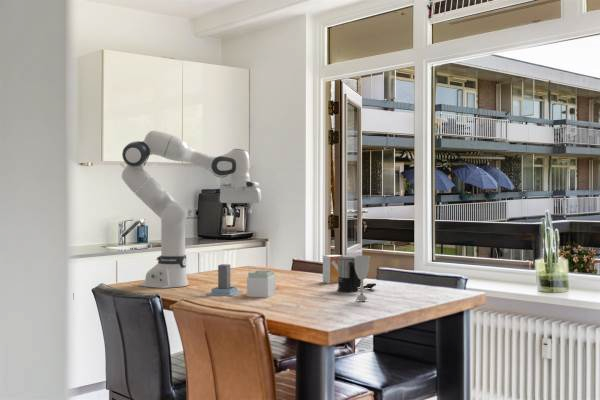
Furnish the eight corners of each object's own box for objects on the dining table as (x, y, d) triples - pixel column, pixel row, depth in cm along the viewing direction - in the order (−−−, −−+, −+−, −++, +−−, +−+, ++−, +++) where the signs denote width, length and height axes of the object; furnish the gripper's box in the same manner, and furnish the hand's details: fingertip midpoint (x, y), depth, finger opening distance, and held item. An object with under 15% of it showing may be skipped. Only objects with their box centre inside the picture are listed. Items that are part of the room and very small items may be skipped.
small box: (330, 283, 300) (330, 256, 300) (322, 282, 306) (322, 255, 305) (343, 282, 305) (343, 255, 304) (335, 280, 310) (335, 254, 310)
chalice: (365, 303, 250) (365, 257, 249) (350, 301, 253) (350, 256, 253) (373, 300, 256) (373, 256, 255) (358, 298, 259) (358, 255, 259)
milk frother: (333, 290, 280) (332, 257, 280) (355, 286, 291) (355, 254, 291) (357, 294, 270) (357, 260, 270) (380, 290, 281) (380, 257, 281)
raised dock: (246, 296, 266) (246, 272, 265) (254, 292, 275) (254, 269, 275) (268, 297, 263) (268, 273, 263) (275, 293, 272) (275, 270, 272)
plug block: (218, 292, 272) (218, 265, 272) (221, 291, 276) (221, 264, 276) (226, 293, 271) (226, 265, 271) (230, 291, 275) (230, 264, 275)
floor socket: (206, 294, 270) (206, 289, 270) (217, 290, 281) (217, 285, 281) (232, 296, 266) (232, 290, 266) (242, 291, 278) (242, 286, 278)
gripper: (217, 183, 296) (217, 212, 296) (258, 183, 290) (258, 213, 291) (222, 183, 302) (222, 212, 302) (262, 183, 296) (262, 212, 297)
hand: (240, 212), depth 297 cm, fingers open, 8 cm apart
